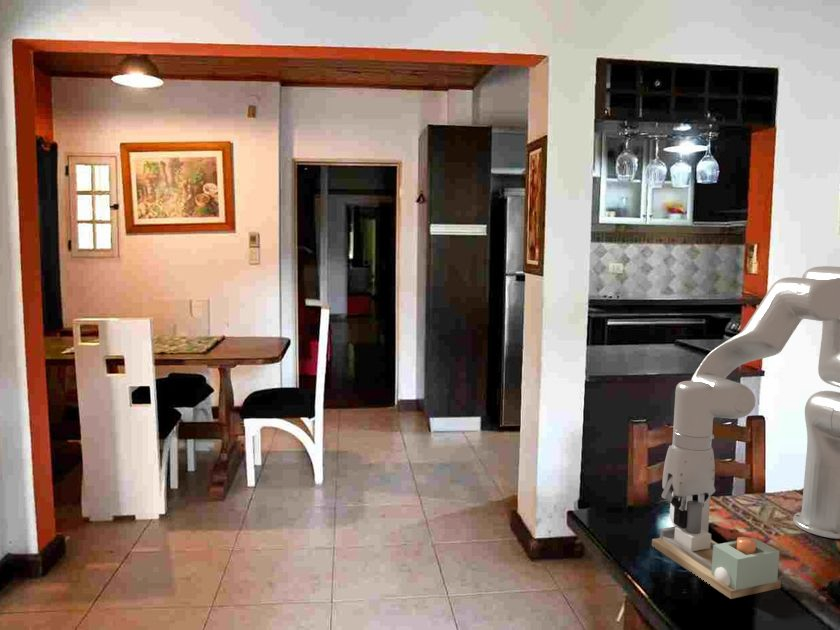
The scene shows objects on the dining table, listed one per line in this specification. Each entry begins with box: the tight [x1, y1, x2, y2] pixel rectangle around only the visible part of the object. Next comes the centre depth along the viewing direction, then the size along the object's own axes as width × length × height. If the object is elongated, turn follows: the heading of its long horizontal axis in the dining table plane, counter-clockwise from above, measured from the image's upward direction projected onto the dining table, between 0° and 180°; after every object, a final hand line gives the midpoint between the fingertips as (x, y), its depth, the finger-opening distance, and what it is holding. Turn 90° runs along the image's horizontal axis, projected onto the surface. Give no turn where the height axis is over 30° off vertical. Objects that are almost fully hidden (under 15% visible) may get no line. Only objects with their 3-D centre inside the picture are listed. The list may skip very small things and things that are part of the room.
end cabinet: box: [711, 537, 780, 599], centre depth 126 cm, size 10×6×8 cm, turn 109°
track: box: [651, 526, 782, 600], centre depth 134 cm, size 12×22×4 cm, turn 19°
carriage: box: [674, 501, 712, 551], centre depth 139 cm, size 5×5×9 cm
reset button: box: [736, 536, 756, 555], centre depth 126 cm, size 3×3×3 cm
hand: (686, 524), depth 141 cm, fingers closed on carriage, 3 cm apart
